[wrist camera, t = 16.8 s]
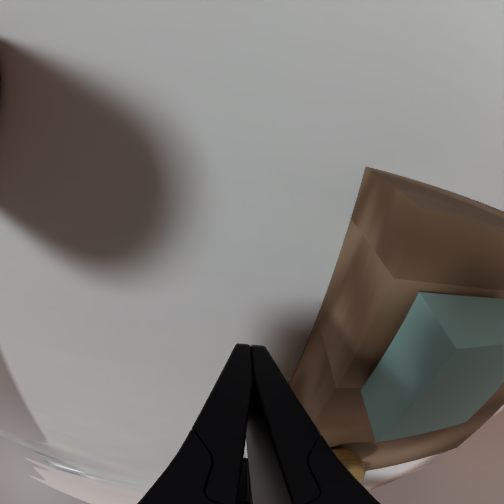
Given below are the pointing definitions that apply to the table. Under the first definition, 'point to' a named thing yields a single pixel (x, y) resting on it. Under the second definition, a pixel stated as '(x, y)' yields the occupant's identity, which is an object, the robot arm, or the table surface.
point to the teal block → (437, 366)
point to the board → (394, 305)
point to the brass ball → (351, 462)
